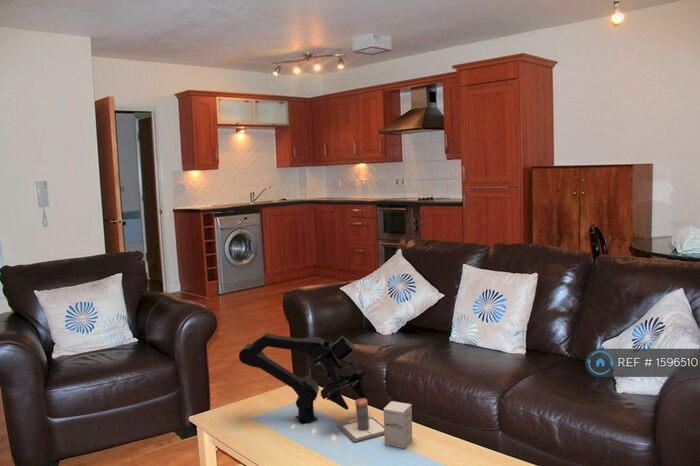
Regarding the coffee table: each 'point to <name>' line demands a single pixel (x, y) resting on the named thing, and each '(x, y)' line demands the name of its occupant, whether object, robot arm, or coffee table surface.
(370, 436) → the grey framed board
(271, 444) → the coffee table surface
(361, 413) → the ball
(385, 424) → the supplement box
